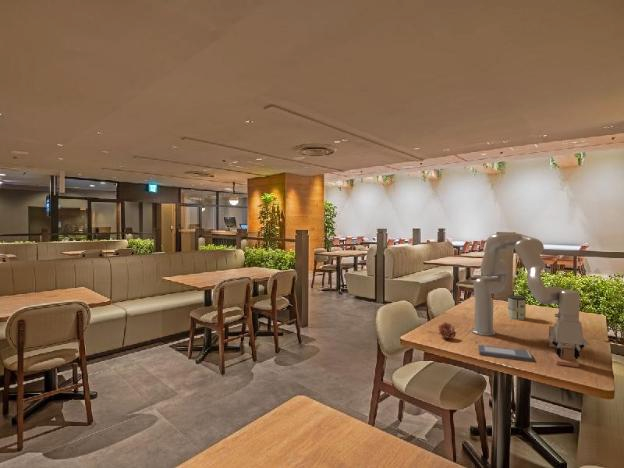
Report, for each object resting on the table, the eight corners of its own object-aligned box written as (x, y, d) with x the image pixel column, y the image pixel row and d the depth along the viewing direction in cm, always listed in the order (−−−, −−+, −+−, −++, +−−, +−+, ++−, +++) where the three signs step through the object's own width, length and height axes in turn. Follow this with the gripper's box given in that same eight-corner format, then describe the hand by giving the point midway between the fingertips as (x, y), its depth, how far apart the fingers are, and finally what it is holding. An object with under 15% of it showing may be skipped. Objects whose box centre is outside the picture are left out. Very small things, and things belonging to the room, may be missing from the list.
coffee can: (512, 315, 243) (512, 294, 242) (528, 318, 234) (529, 297, 234) (504, 317, 237) (504, 296, 236) (520, 321, 228) (521, 299, 228)
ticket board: (478, 347, 180) (478, 344, 180) (528, 354, 172) (528, 350, 172) (479, 354, 171) (479, 351, 171) (532, 361, 163) (532, 357, 163)
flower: (432, 332, 199) (436, 323, 194) (444, 327, 203) (449, 318, 198) (444, 346, 192) (448, 337, 188) (456, 341, 196) (461, 332, 191)
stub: (551, 356, 169) (551, 342, 168) (571, 358, 166) (572, 345, 165) (556, 364, 159) (557, 349, 159) (578, 367, 156) (579, 352, 156)
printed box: (548, 344, 186) (549, 325, 185) (564, 347, 182) (565, 327, 181) (548, 346, 183) (549, 327, 182) (564, 349, 179) (565, 329, 178)
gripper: (548, 317, 161) (546, 357, 162) (594, 322, 155) (593, 363, 155) (544, 313, 168) (543, 351, 169) (589, 317, 162) (587, 357, 162)
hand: (567, 356), depth 162 cm, fingers open, 5 cm apart
